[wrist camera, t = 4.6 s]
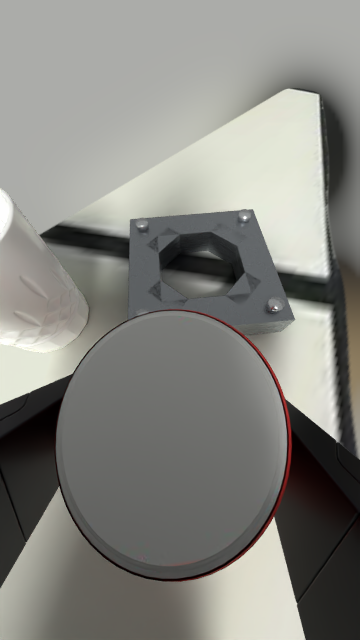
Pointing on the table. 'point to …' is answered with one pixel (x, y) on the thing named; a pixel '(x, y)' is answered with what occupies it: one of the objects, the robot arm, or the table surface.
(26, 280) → the white cup
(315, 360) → the table surface
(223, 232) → the housing
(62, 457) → the beverage can
